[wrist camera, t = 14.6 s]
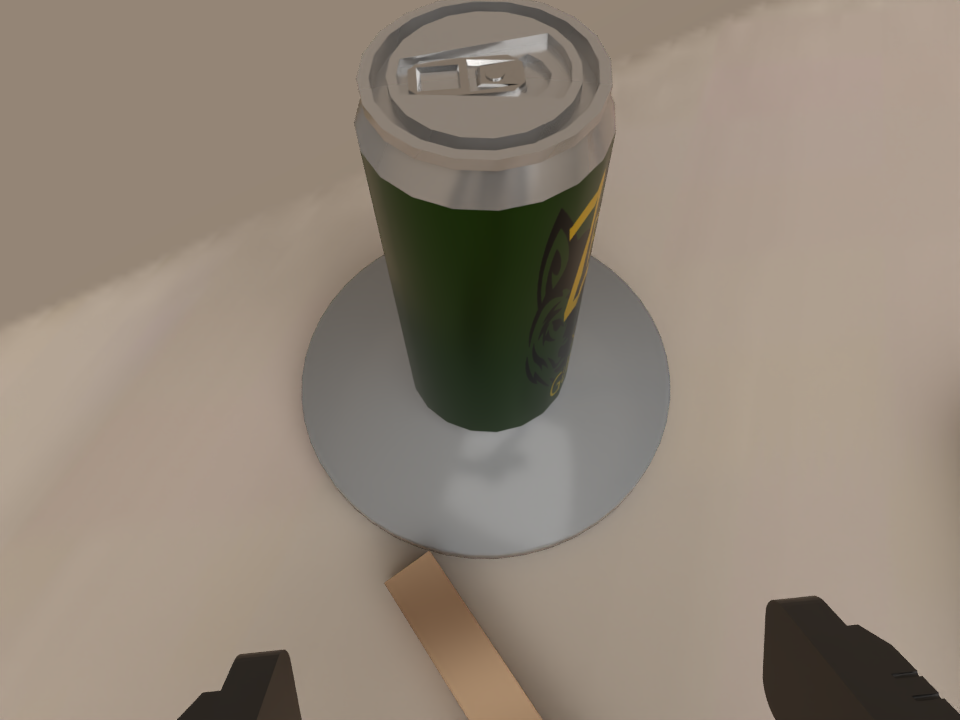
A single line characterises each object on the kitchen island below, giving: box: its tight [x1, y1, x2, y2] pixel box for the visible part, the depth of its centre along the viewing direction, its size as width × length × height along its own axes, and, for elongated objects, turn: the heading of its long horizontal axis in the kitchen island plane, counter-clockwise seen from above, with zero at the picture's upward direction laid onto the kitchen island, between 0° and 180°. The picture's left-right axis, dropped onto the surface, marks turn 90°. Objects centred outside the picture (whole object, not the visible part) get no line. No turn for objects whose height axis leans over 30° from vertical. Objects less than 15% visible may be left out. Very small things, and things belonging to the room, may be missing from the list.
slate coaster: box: [302, 255, 670, 559], centre depth 23 cm, size 13×13×1 cm
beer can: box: [354, 0, 616, 432], centre depth 18 cm, size 5×5×12 cm
